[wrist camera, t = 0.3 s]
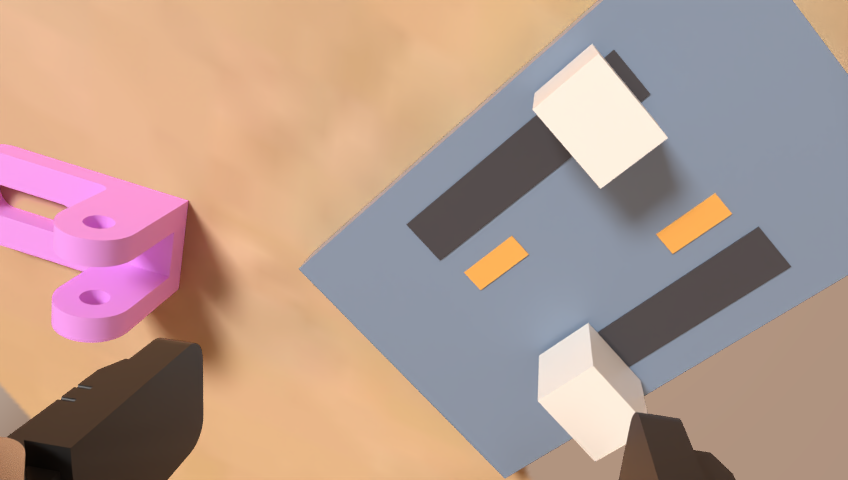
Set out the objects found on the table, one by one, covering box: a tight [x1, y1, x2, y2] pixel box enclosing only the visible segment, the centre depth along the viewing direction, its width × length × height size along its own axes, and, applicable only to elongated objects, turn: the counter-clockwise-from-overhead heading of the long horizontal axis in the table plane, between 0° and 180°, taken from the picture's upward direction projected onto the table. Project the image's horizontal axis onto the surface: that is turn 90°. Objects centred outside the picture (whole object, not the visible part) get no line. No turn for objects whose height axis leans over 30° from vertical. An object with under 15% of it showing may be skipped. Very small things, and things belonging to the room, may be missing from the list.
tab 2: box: [538, 323, 648, 461], centre depth 30 cm, size 3×4×4 cm
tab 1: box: [532, 44, 668, 189], centre depth 26 cm, size 3×4×4 cm
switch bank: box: [299, 0, 848, 478], centre depth 31 cm, size 24×16×2 cm, turn 133°
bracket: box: [0, 144, 189, 342], centre depth 34 cm, size 13×6×7 cm, turn 76°
